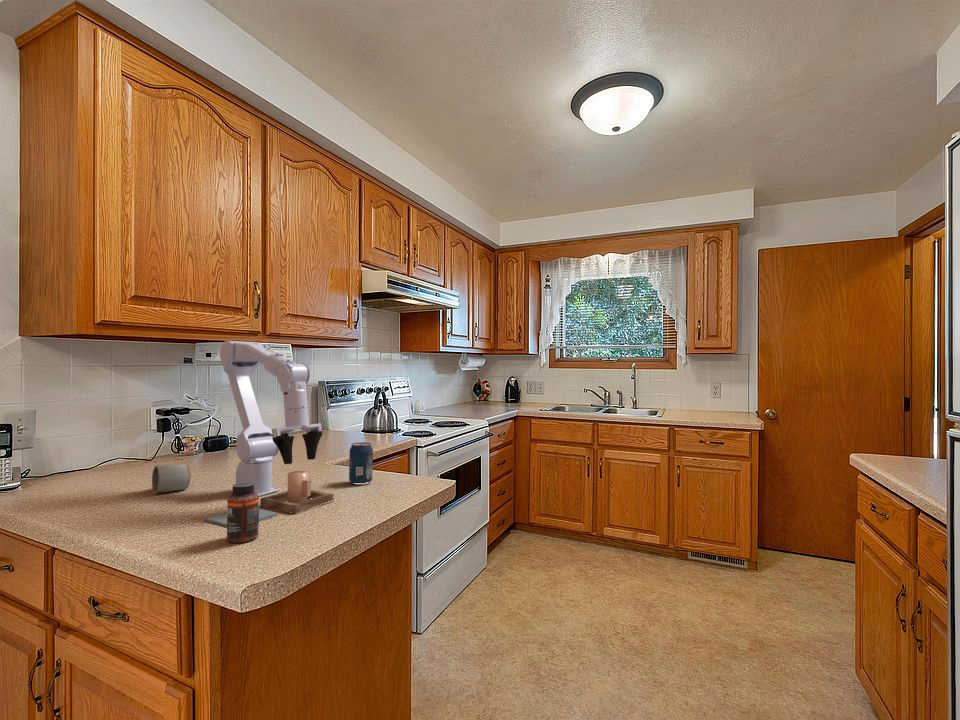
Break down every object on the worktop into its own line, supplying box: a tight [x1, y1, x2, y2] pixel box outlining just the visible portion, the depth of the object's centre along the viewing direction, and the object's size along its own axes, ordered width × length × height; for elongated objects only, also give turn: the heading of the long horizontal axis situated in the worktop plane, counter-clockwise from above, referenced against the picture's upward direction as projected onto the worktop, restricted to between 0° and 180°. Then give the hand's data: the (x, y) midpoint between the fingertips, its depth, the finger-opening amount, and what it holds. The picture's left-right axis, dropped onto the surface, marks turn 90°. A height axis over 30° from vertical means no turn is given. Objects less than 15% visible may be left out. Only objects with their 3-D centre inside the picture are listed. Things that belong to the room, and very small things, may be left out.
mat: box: [204, 508, 279, 528], centre depth 113 cm, size 11×11×1 cm
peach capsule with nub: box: [286, 470, 312, 503], centre depth 124 cm, size 6×5×8 cm
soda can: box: [348, 441, 374, 483], centre depth 147 cm, size 7×7×12 cm
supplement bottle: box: [226, 482, 260, 544], centre depth 99 cm, size 6×6×11 cm
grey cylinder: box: [151, 463, 192, 495], centre depth 136 cm, size 11×8×8 cm
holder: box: [259, 489, 334, 514], centre depth 124 cm, size 12×12×2 cm
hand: (300, 461), depth 124 cm, fingers open, 7 cm apart
